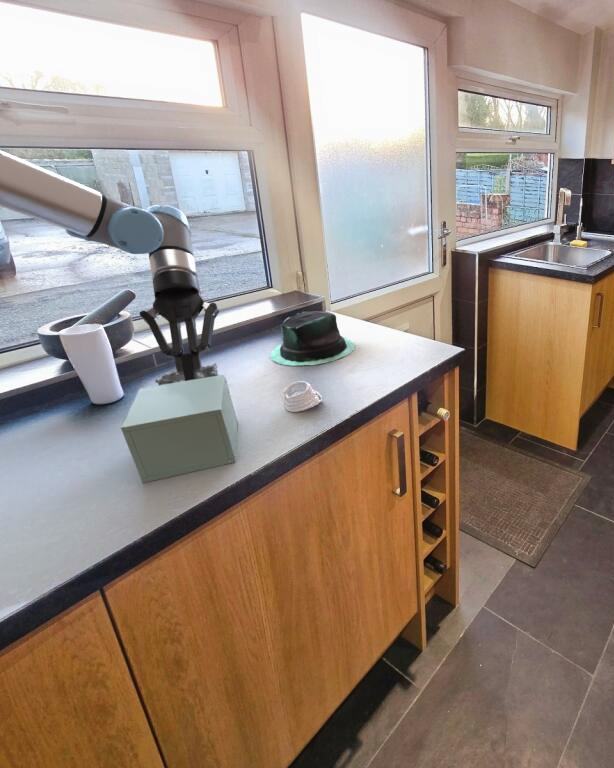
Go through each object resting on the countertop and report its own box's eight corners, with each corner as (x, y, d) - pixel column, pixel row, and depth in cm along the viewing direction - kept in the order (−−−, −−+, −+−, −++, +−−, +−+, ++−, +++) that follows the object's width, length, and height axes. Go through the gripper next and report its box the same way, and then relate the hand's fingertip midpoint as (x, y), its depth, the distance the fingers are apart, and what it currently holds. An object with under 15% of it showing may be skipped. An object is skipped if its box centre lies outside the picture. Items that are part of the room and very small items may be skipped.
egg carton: (158, 399, 100) (151, 381, 98) (168, 384, 107) (161, 367, 105) (217, 391, 103) (211, 373, 101) (223, 377, 110) (218, 360, 108)
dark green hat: (324, 367, 112) (248, 362, 116) (365, 374, 130) (297, 370, 134) (330, 301, 113) (254, 299, 117) (370, 318, 131) (303, 316, 135)
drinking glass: (125, 389, 104) (100, 321, 98) (132, 399, 100) (105, 328, 94) (85, 399, 100) (55, 329, 94) (90, 410, 96) (59, 337, 89)
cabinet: (157, 437, 86) (139, 388, 82) (237, 421, 91) (224, 374, 87) (142, 483, 74) (120, 427, 70) (236, 462, 79) (220, 409, 75)
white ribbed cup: (330, 406, 99) (329, 383, 97) (303, 418, 93) (301, 394, 91) (302, 395, 102) (300, 373, 100) (274, 406, 96) (271, 383, 94)
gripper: (217, 285, 103) (235, 388, 97) (143, 293, 98) (157, 402, 92) (208, 264, 97) (227, 374, 90) (128, 272, 92) (143, 388, 85)
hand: (192, 388), depth 91 cm, fingers closed
